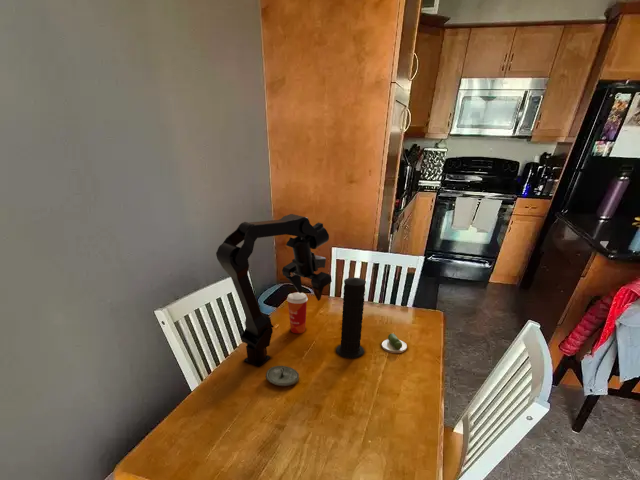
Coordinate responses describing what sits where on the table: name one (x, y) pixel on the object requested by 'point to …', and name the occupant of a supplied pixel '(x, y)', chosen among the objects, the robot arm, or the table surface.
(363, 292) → the handle grip
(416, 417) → the table surface
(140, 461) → the table surface
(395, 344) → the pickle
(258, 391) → the table surface
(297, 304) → the paper cup
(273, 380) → the lid
